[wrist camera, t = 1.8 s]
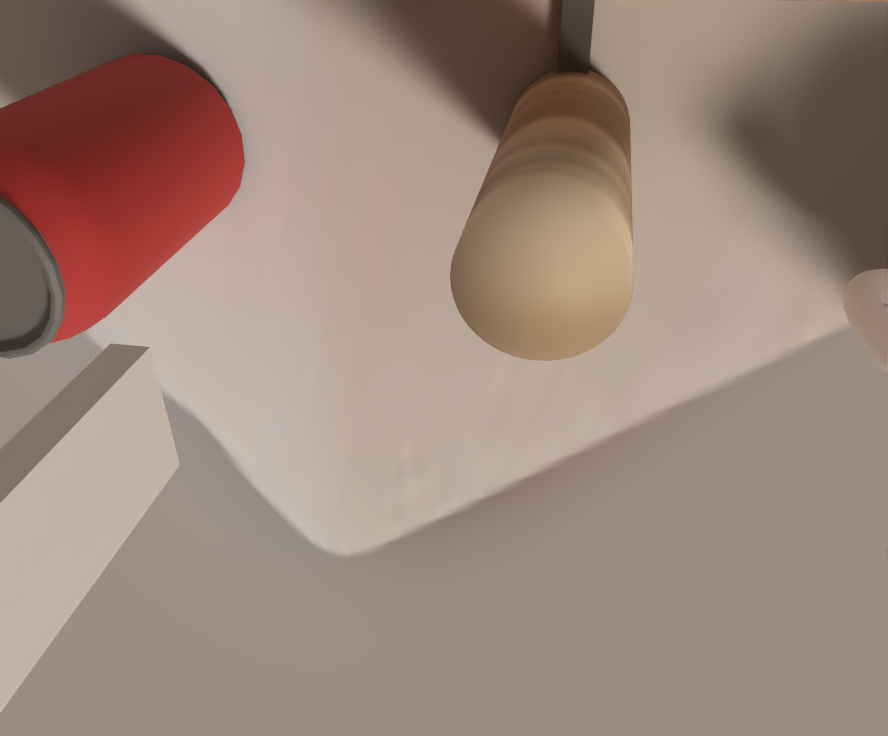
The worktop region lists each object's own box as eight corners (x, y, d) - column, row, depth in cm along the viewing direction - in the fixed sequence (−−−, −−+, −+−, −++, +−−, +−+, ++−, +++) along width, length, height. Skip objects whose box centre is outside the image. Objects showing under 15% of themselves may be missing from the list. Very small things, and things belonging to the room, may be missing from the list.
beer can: (149, 9, 28) (-102, 97, 19) (284, 147, 30) (121, 292, 20) (64, 128, 32) (-187, 256, 22) (190, 245, 34) (12, 411, 24)
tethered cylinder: (492, -309, 22) (385, -436, 12) (718, -321, 21) (802, -469, 11) (484, 181, 30) (415, 349, 20) (648, 190, 29) (660, 371, 19)
